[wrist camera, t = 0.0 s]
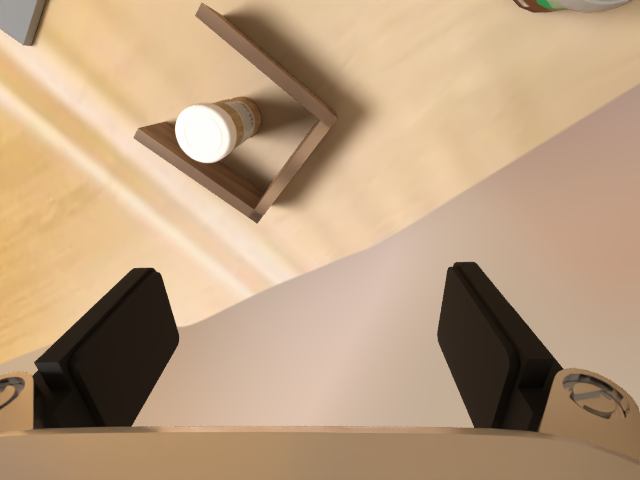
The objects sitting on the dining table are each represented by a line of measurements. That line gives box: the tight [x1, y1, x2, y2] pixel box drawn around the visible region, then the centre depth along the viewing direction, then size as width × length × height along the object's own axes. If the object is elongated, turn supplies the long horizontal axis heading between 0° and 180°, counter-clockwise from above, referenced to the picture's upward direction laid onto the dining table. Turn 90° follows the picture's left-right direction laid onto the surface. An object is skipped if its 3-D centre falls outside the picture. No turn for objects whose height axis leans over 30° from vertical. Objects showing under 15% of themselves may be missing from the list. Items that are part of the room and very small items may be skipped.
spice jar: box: [175, 97, 261, 163], centre depth 32 cm, size 5×5×13 cm
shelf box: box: [134, 3, 337, 223], centre depth 35 cm, size 14×15×6 cm
